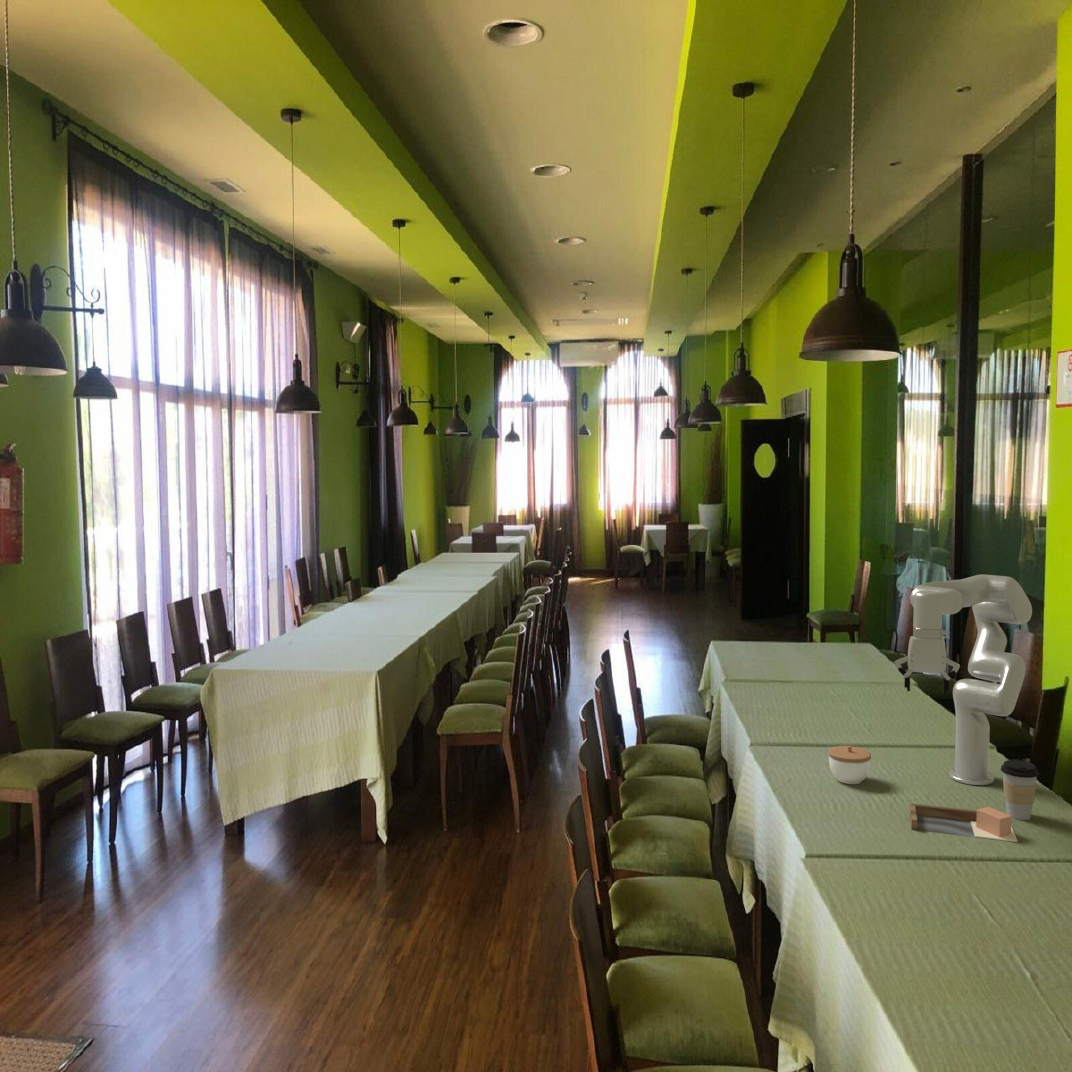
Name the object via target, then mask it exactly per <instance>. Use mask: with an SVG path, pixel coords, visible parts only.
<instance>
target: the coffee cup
mask: <svg viewBox="0 0 1072 1072" xmlns="http://www.w3.org/2000/svg"><path fill="white" fill-rule="evenodd" d="M1000 771H1001V772H1002V774H1003V775H1002V781H1003V782H1002V784H1003V794H1004V796H1003V797H1004V799H1005V811H1006V812H1005V813H1006V814H1008V815H1010V816H1012V818H1011V819H1012V820H1013V819H1014V820H1019V821H1027V820H1028V821H1029V820H1031V816H1032V811H1033V804H1034V801H1035V794H1036V789H1037V788H1036V787H1037V777H1039V775H1040V773H1039V770H1038V769H1037V766H1036V765H1035V764H1034V763H1032V762H1029V761H1025V760H1024V761H1023V760H1018V759H1011V760H1010V759H1009V760H1008V759H1007V760H1005V761H1003V763H1002V764H1001V767H1000Z"/></svg>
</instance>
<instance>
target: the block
mask: <svg viewBox="0 0 1072 1072" xmlns="http://www.w3.org/2000/svg"><path fill="white" fill-rule="evenodd" d="M976 811H977V819H976V827H977V828H979V829H981V830H983V831H986V832H988V833H990V834H993V835H995V836H997V837H1002V836H1006V835H1010V834H1011V826H1012V819H1013V818H1012V816H1010V815H1008V814H1007V813H1006V812H1002V811H999V810H997V809H996V808H992V807H991V806H985V807H982V808H978V809H976Z"/></svg>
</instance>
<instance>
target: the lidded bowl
mask: <svg viewBox="0 0 1072 1072" xmlns="http://www.w3.org/2000/svg"><path fill="white" fill-rule="evenodd" d="M827 751H828V764H829V767H830V768H829V769H830V771H831V772H832V775H833V776H834V777H835V778H836V780H837V781H838V782H840V783H842V784H845V785H859V784H862V781H863V780H865V779H866V778H867V777H868V776H869V773H870V769H871V759H872V753H871V752H870V751H868V750H867V749H865V748H863V747H857V746H852V745H837V746H833V747H831V748H829V749H828V750H827Z"/></svg>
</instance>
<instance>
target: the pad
mask: <svg viewBox="0 0 1072 1072" xmlns="http://www.w3.org/2000/svg"><path fill="white" fill-rule="evenodd" d="M971 825H972V829H973V832H974V836H975V837H974V838H978V837H979V839H986V838H987V840H988V839H989V840H994V839H996V840H995V841H1002V840H1004V842H1011V841H1012V843H1018V842H1017V840H1018V838H1017V836H1015V835H1016V833H1015V830H1014V828H1013V826H1012V825H1011V834H1010V835H1006V836H1002V837H997V836H995V835H993V834H990V833H988V832H986V831H983V830H981V829H979V828H977V827H976V822H974V821H971ZM1013 830H1014V831H1013ZM1016 838H1017V839H1016Z"/></svg>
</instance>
